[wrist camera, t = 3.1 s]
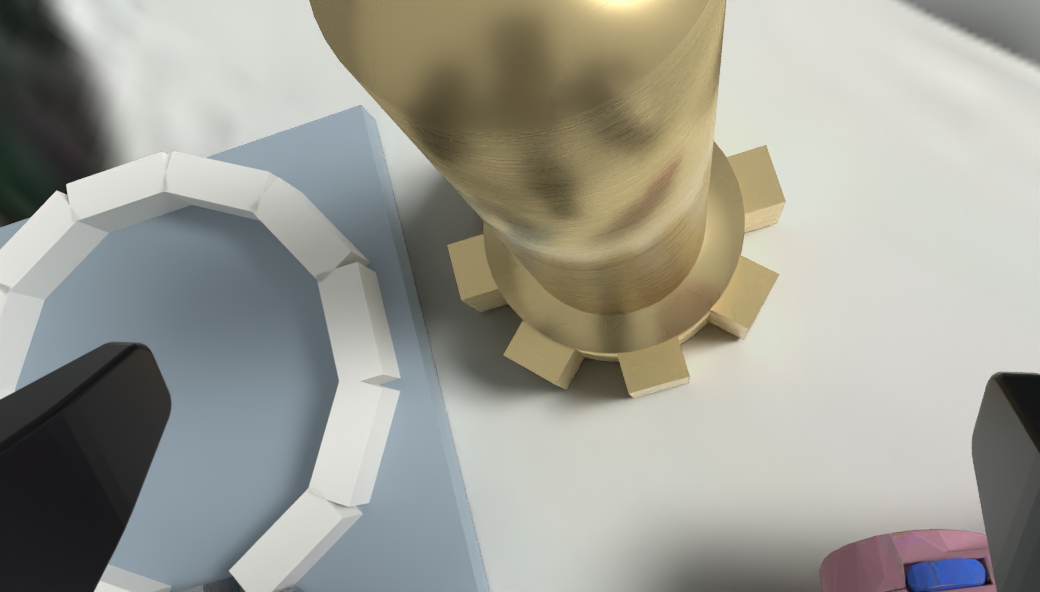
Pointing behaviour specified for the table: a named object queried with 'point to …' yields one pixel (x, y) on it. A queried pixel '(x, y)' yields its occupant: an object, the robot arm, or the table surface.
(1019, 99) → the table surface
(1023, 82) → the table surface
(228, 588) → the fixed gear
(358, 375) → the gear board
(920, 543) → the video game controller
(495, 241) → the brass gear
